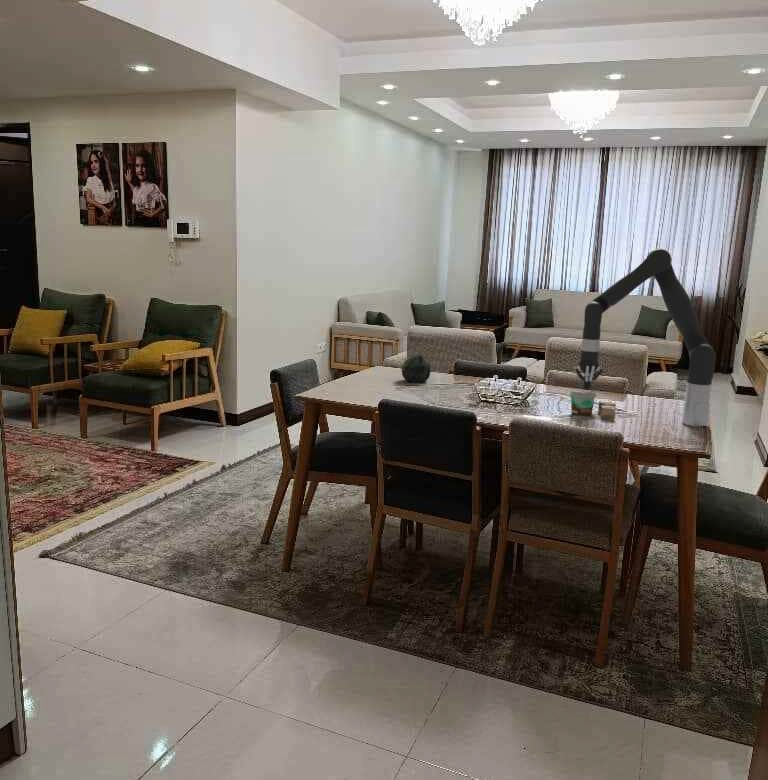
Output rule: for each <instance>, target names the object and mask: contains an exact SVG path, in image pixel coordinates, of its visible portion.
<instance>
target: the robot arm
mask: <svg viewBox="0 0 768 780" xmlns="http://www.w3.org/2000/svg"><path fill="white" fill-rule="evenodd" d="M652 277H654V279H655V280H656V283H657V284H658V287H659V290H660V293H661V297H662V299H663V301H664V304H665V307H666V309H667V312H668V315H669V317H670V318H671V320H672V321H673V323H674V326H675V327H676V328H677V330H678V331H679V333H680V334H681V336H682V339H683V340H684V343H685V346H686V349H687V352H688V356H689V364H688V365H689V366H688V367H689V368H688V372H687V373H688V374H687V378H686V387H685V393H684V394H685V395H684V403H683V410H682V411H683V414H682V421H681V423H682V424H683V423H684V424H683V425H685V426H689V427H693V428H695V427H696V428H697V427H703V426H706V427H707V428H708V425H709V424H708V423H709V416H710V415H709V414H710V407H711V404H710V400H711V399H710V397H711V391H712V390H711V389H712V384H713V379H714V372H715V366H716V358H717V357H716V356H717V355H716V351H715V350H714V348H713V347H712V346H711V345H710V343H709V342H708V339H707V338H706V336H705V335H704V333H703V330H702V329H701V326H700V322H699V318H698V314H697V312H696V310H695V307H694V304H693V302H692V301H691V299H690V296H689V294H688V292H687V291H686V290H685V288H684V286H683V285H682V283H681V282H680V281H679V279H678V278H677V277H678V276H677V275H676V273H675V270H674V267H673V264H672V255H671V253H670V252H669V251H668V250H666V249H663V248H656V249H652V250H651V251H650V252H649V253H648V254H647V256H646V258H645V259H644V260H643V261H642V262H641V263H640V264H639V265H638V266H637V267H635V268H634V269H633V270H632V271H631V272H629V273H627V274H626V275H625V276H623V277H622V278H620V279H619V280H617V281H616V282H615V283H613V284H612V285H611V286H609V287H608V288H607V289H606V290H605V291H603V292H602V293H601V294H600V295H597V297H595V298H594V299H592V300H591V301H589V302H588V303H587V305H586V306H585V308H584V318H583V319H584V323H583V324H584V325H583V330H582V340H581V343H580V344H581V346H580V358H579V363H578V365H577V366H575V367H573V368H572V370H573V371H574V373H576V375H577V377H578V378H579V379H580V380H582V382H583V383H582V388H583V390H584V391H589V390H590V389H591V386H592V382H593V381H597V379H598V378H599V376H601V374H602V373H603V372H604V368H602V367H600V364H599V360H600V359H599V358H600V348H601V342H600V341H601V329H602V328H601V325H602V317H603V313H605V312H606V311H607V310H608V309H610V308H611V307H613V306H615V305H617V304H618V303H619V302H621V301H622V300H623V299H624V298H625V297H627V296H628V295H630V294H631V293H632V292H633V291H634V290H635V289H636V288H638V287H639V286H640V285H642V284H643V283H644V282H646V281H648V280H649V279H651V278H652ZM581 371H582V373H581Z"/></svg>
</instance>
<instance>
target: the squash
mask: <svg viewBox="0 0 768 780" xmlns="http://www.w3.org/2000/svg"><path fill="white" fill-rule="evenodd" d="M431 371H432V367H431V364H430V362H429V361H428V360H427V359H426V358H425V357H424V356H423V355H422V354H417V355H414V356H412V357H409V358H408V359H406V360H405V361H404V363H403V365H402V367H401V375H402V378H403V379H404V381H405V380H406V381H407V380H410V381H409V382H417V381H419V382H418V383H424V382H423V381H425V382H427V381H428V379H429V378H430V376H431Z"/></svg>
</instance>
